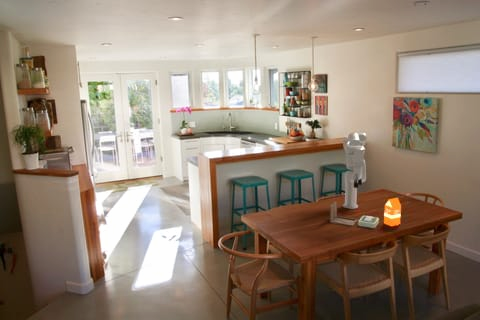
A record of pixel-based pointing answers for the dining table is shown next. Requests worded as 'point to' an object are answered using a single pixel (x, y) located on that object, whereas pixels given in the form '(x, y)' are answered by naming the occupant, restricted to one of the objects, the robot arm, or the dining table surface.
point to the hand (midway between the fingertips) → (357, 186)
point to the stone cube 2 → (368, 220)
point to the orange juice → (392, 212)
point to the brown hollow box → (339, 219)
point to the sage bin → (366, 224)
